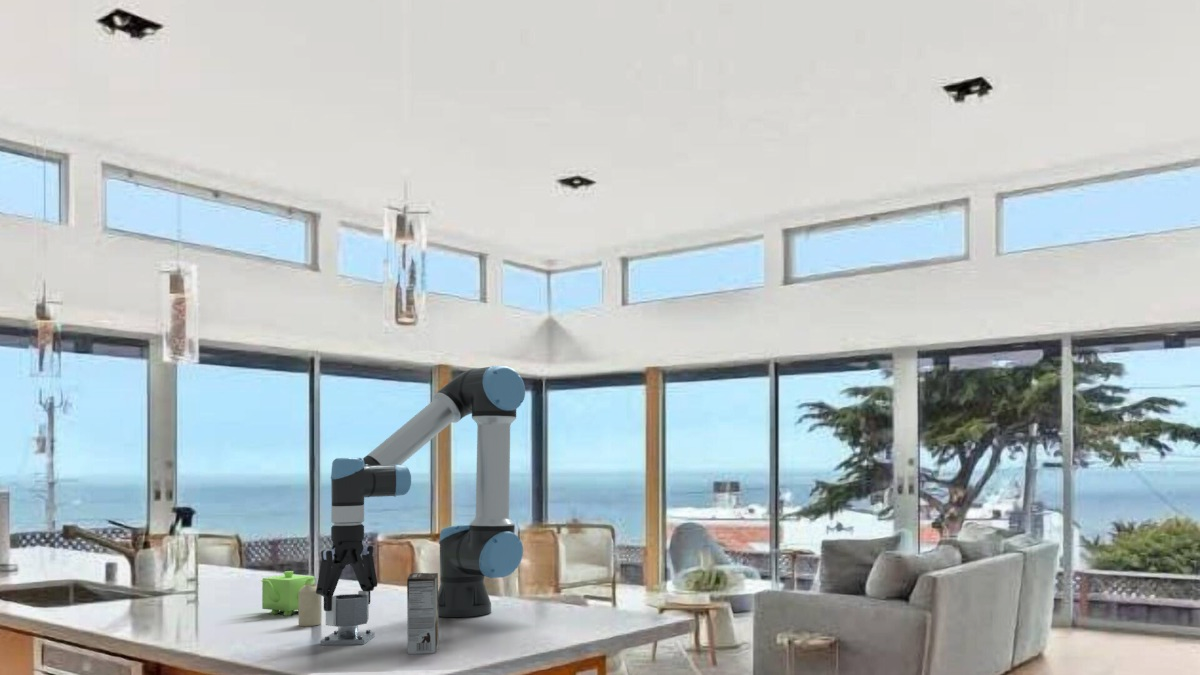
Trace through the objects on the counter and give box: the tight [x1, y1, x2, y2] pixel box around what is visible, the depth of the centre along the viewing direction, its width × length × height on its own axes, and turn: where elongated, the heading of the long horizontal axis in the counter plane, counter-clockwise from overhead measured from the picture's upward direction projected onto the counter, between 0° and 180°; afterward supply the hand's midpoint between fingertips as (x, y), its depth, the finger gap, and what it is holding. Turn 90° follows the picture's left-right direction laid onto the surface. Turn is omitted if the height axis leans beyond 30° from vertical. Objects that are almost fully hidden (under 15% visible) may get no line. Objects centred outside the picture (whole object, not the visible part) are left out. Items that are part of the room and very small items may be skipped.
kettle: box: [260, 570, 316, 617], centre depth 296 cm, size 15×14×11 cm
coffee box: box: [406, 572, 440, 655], centre depth 238 cm, size 9×6×16 cm
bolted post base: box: [319, 625, 375, 646], centre depth 251 cm, size 10×10×8 cm
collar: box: [327, 593, 369, 628], centre depth 251 cm, size 10×9×6 cm
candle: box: [298, 584, 322, 627], centre depth 275 cm, size 6×6×10 cm
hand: (347, 622), depth 251 cm, fingers closed on collar, 9 cm apart
